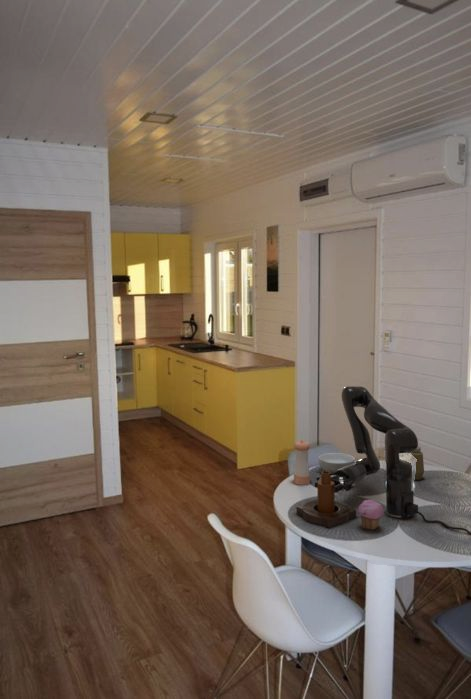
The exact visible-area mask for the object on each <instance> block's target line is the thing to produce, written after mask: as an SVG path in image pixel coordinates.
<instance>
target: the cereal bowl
mask: <svg viewBox="0 0 471 699" xmlns="http://www.w3.org/2000/svg"><path fill="white" fill-rule="evenodd" d="M354 462H356V459H355V457H354V456H353V455H351V454H347V453H343V452H342V453H341V452H326V453H322V454H320V455H319V456H318V464H319V466H320V468H321V469H322V470H323V471H328V472H330V473H331V475H334V473H335V472H336V471H337V470H339V469H341V468H343V467H346V466H349V465H351V464H353V463H354Z"/></svg>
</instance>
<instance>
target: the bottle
mask: <svg viewBox="0 0 471 699" xmlns="http://www.w3.org/2000/svg"><path fill="white" fill-rule="evenodd" d="M320 474H321V475H320V476H321V480H320V481H318V482H317V487H316V488H317V492H316V493H317V494H316V496H317V498H316V500H317V510H318V512H321V513H334V512H335V501H336V498H335V495H336V494H335V493H336V492H334V487H335V483H334V482H333V481H331V476H332V474H331V473H330V472H328V471H325V470H323V471H321V472H320Z"/></svg>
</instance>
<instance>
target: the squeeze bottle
mask: <svg viewBox="0 0 471 699" xmlns="http://www.w3.org/2000/svg"><path fill="white" fill-rule="evenodd" d="M421 449H422V447H421V446H419V445H418V447H417V449H416V450H415V451H413V452H410V453H411V454H412V455H413V456H414V457H415V458H416V459H417V462H416V474H415V480H416V481H419V480H422V478H423V476H424V473H425V465H424V464H425V463H424V453H423V451H422V450H421Z"/></svg>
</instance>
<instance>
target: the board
mask: <svg viewBox="0 0 471 699" xmlns="http://www.w3.org/2000/svg"><path fill="white" fill-rule="evenodd" d="M296 515H298V516H300V517H302V518H303V519H304V520H305V521H306V522H309V523H311V524H315V525H319V526H324V527H326V528H329V529H331V528H333V527H335V526H339V525H342V524H345V523H348V522H349V521H351V520H353V519H357V509H355V508H353V507H350V506H349V505H348V504H347V503H345V502H342V501H339V500H335V512H334V513H321V512H318V510H317V499H314V500H310V501H307V502H305V503H303V504H300V505H298V506H296Z"/></svg>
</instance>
